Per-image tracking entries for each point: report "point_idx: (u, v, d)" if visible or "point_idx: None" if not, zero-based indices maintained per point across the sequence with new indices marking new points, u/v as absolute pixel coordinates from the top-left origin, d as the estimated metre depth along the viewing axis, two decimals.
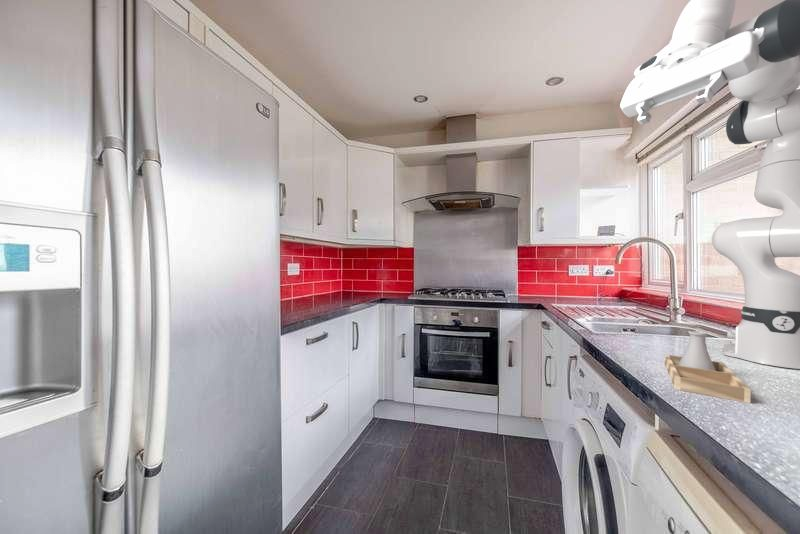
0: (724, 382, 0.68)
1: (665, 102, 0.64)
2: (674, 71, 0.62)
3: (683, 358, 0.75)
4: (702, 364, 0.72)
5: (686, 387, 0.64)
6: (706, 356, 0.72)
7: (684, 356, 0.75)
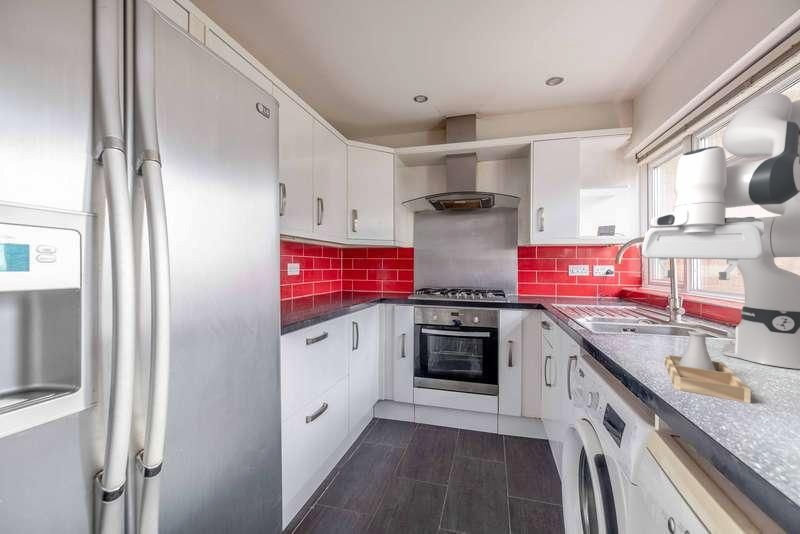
0: (724, 382, 0.68)
1: (681, 257, 0.76)
2: (691, 237, 0.73)
3: (683, 358, 0.75)
4: (702, 364, 0.72)
5: (686, 387, 0.64)
6: (706, 356, 0.72)
7: (684, 356, 0.75)
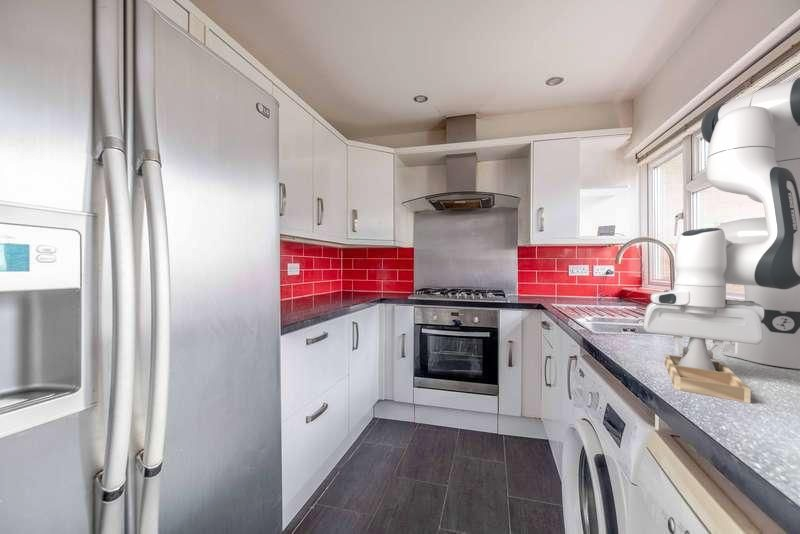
0: (724, 382, 0.68)
1: None
2: (693, 317, 0.73)
3: (683, 358, 0.75)
4: (702, 364, 0.72)
5: (686, 387, 0.64)
6: (706, 356, 0.72)
7: (684, 356, 0.75)
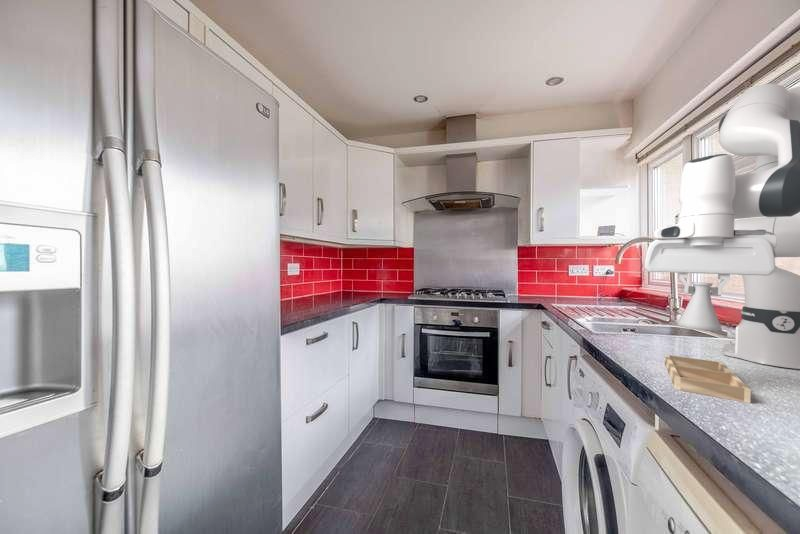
0: (724, 382, 0.68)
1: None
2: (698, 250, 0.68)
3: (685, 311, 0.70)
4: (703, 315, 0.66)
5: (686, 387, 0.64)
6: (710, 307, 0.67)
7: (686, 309, 0.70)
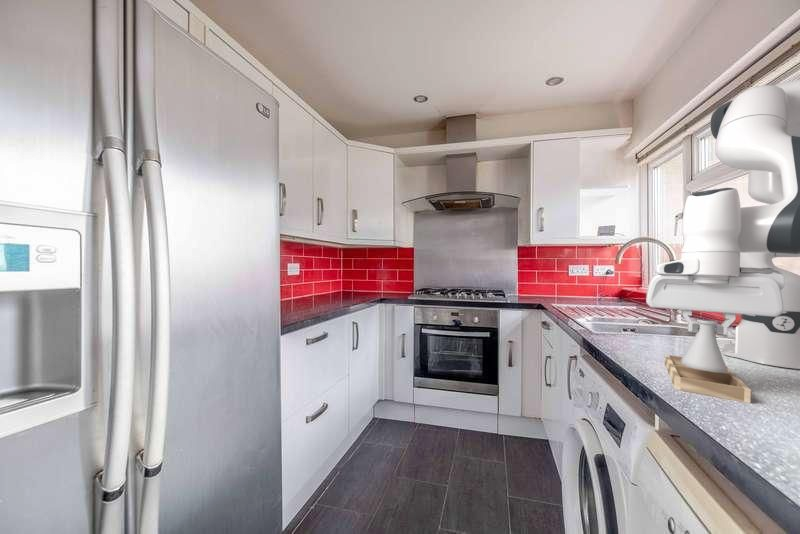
0: (724, 382, 0.68)
1: None
2: (702, 288, 0.65)
3: (689, 349, 0.67)
4: (709, 356, 0.64)
5: (686, 387, 0.64)
6: (715, 347, 0.64)
7: (690, 347, 0.67)
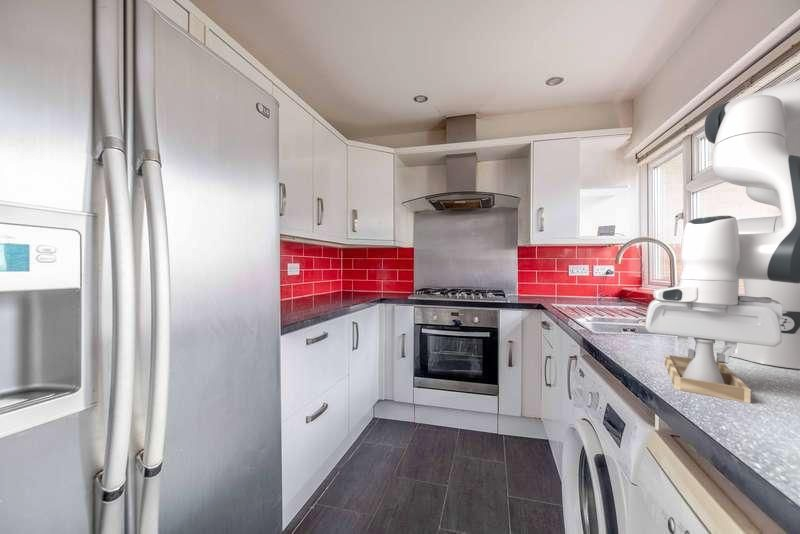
0: (724, 382, 0.68)
1: None
2: (701, 315, 0.65)
3: (688, 367, 0.67)
4: (708, 375, 0.64)
5: (686, 387, 0.64)
6: (714, 366, 0.64)
7: (689, 365, 0.67)
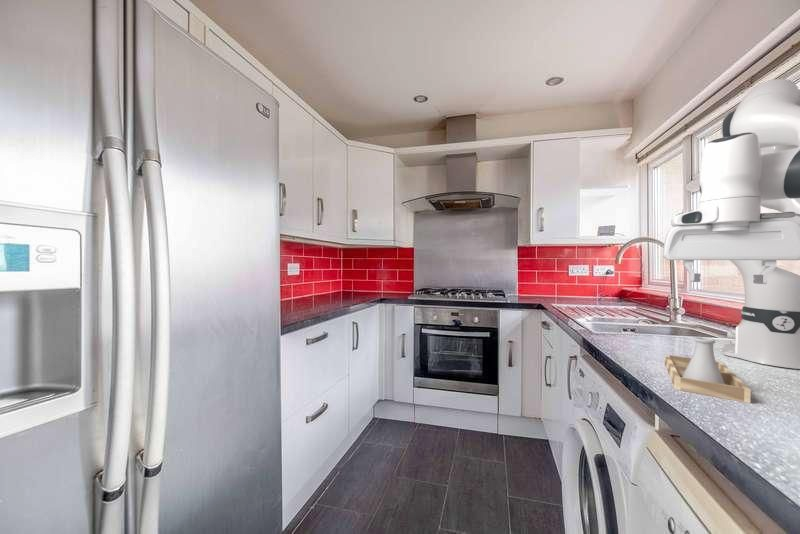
0: (724, 382, 0.68)
1: None
2: (721, 236, 0.64)
3: (688, 367, 0.67)
4: (708, 375, 0.64)
5: (686, 387, 0.64)
6: (714, 366, 0.64)
7: (689, 365, 0.67)
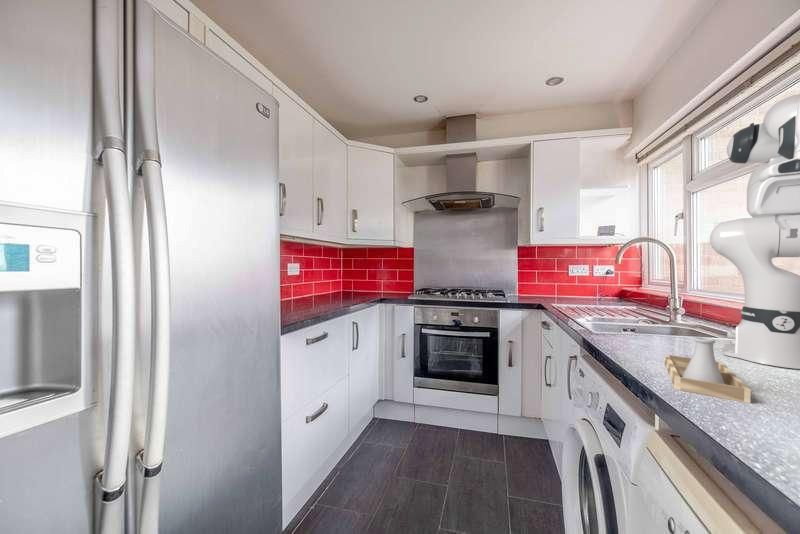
0: (724, 382, 0.68)
1: None
2: None
3: (688, 367, 0.67)
4: (708, 375, 0.64)
5: (686, 387, 0.64)
6: (714, 366, 0.64)
7: (689, 365, 0.67)
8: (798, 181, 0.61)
